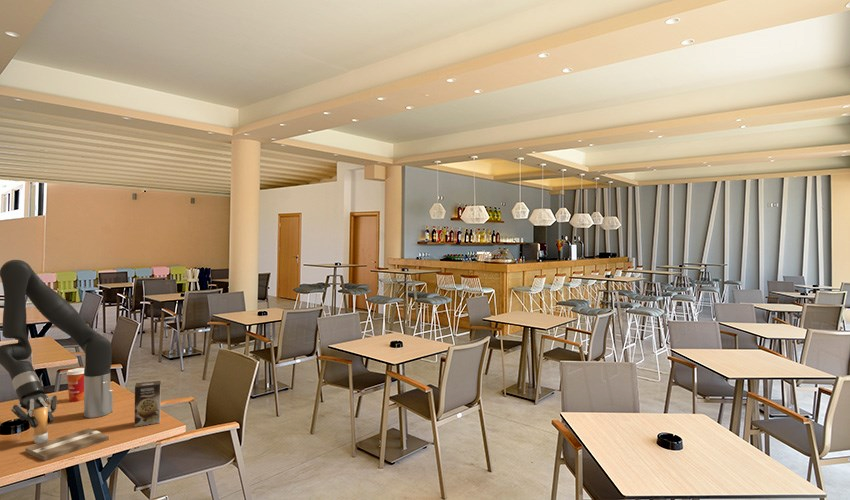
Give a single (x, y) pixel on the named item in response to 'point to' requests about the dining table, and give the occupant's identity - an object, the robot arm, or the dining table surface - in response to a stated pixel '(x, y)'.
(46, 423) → the tan cylinder
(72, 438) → the board
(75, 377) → the paper cup
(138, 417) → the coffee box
